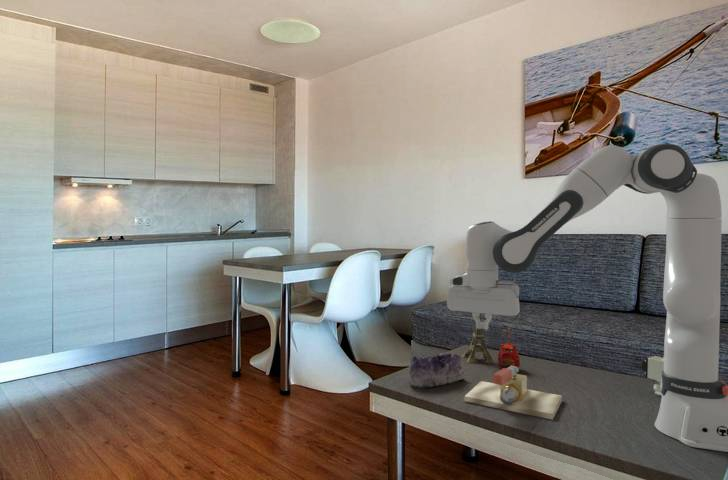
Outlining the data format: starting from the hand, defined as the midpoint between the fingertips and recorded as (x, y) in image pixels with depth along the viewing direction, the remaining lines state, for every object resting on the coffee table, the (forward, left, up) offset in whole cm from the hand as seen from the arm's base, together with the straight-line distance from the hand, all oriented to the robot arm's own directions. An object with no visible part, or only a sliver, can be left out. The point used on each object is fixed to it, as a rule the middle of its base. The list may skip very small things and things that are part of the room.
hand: (482, 328), depth 130 cm
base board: (-7, -9, -22) cm, 25 cm away
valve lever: (-6, -4, -15) cm, 16 cm away
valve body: (-7, -9, -22) cm, 25 cm away
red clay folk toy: (+2, -40, -22) cm, 46 cm away
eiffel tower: (+15, -46, -22) cm, 53 cm away
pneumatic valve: (-45, -39, -22) cm, 63 cm away
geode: (+19, -13, -22) cm, 32 cm away
